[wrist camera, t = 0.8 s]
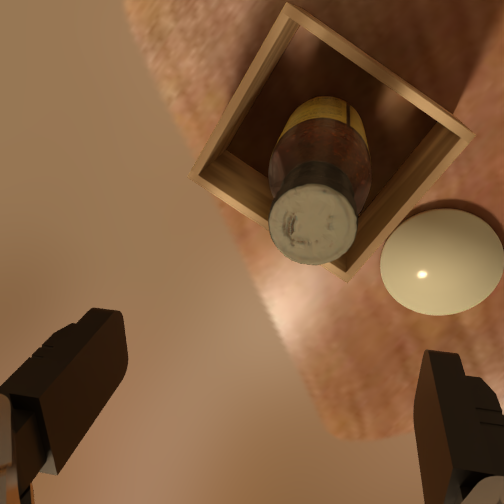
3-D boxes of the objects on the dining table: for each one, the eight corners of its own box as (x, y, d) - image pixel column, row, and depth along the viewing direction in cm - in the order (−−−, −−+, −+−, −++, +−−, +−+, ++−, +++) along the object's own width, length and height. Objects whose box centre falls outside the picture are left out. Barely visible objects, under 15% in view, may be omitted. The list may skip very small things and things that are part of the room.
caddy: (453, 114, 36) (476, 135, 29) (349, 240, 42) (347, 283, 35) (300, 7, 35) (286, 1, 28) (216, 151, 41) (187, 177, 34)
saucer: (515, 213, 38) (517, 215, 38) (488, 317, 43) (489, 321, 42) (387, 203, 40) (388, 205, 39) (373, 305, 44) (373, 308, 44)
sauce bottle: (272, 142, 40) (205, 231, 22) (317, 76, 37) (280, 119, 19) (336, 187, 40) (318, 309, 23) (384, 126, 38) (408, 211, 20)
